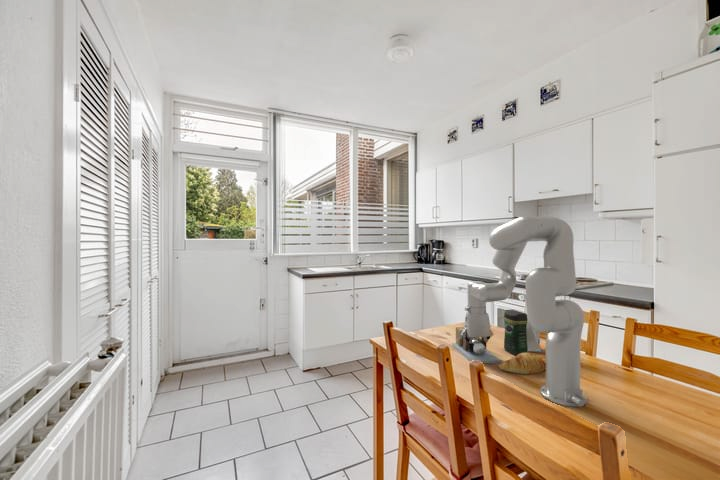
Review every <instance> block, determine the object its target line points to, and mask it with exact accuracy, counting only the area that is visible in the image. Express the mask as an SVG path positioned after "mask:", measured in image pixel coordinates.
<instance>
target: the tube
mask: <svg viewBox="0 0 720 480" xmlns="http://www.w3.org/2000/svg"><path fill="white" fill-rule="evenodd" d="M465 336H466V337H468V335H467V334H465ZM462 342H463V337H462ZM472 343H473V351H474V352H475V353H476V354H478V355H482V354H484V353H485V351H486V350H487V347H486V348H485V346H484V345H483V344H482V343H480V342H479V341H478V340H476V339H475V338H473V340H472Z"/></svg>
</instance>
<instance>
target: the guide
mask: <svg viewBox="0 0 720 480" xmlns="http://www.w3.org/2000/svg"><path fill="white" fill-rule="evenodd" d="M477 340H478V341H479V342H480V343H481V341H482V338H481V337H477ZM463 349H464V350H465V351H468V342H467V341H466V340H465V339H464V338H463Z"/></svg>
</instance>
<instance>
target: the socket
mask: <svg viewBox="0 0 720 480" xmlns="http://www.w3.org/2000/svg"><path fill="white" fill-rule="evenodd" d="M464 327H465V326H459V327H458V326H457V327H455V343H456V344H457V345H458V346H462V344H463V342H462V336H461V335H460V334H461V333H462V331H463V330H464ZM473 338H475V339H476V340H477V337H473Z"/></svg>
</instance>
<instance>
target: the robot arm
mask: <svg viewBox="0 0 720 480" xmlns="http://www.w3.org/2000/svg"><path fill="white" fill-rule="evenodd" d="M488 242H489V245H490V246H491V248H492V249H493V250H495V253H494V256H493V257H492V264H493V265H494V266H495V268H497V269H499V270H501V271H502V274H501V276H500V279H499V281H498V282H491V283H490V282H489V283H485V282H484V281H479V280H472V281H469V282H467V305H466V307H464V310H465V311H466V313H465V316H464V317H465V318H464V326H463V327H464V330H463V331H462V333H461V334H460V335H461V336H462V337H463V338H464V339H465V340H466V341H467V342H468V350H469V351H470V352H471V353H473V343H472V340H473V337H480V338H481V339H482V341H481V343H482V344H483V345H484V346H485V348H486V349H487V343H488V341H489V340H490V339H491V338H492V336H494V332H493V331H492V329H491V322H490V316H489V312H487V303H493V302H499V301H505V300H507V299H508V298H509V297H510V296H511V294H512V292H513V291H514V289H515V286H517V285H516V284H517V273H516V270H515V268H516V266H517V264H518V262H519V259H520V258H521V256H522V254H523V252H524V250H525V248H526V246H527V244H528V242H546V245H545V247H544V249H543V267H537V268H534V269H532V270H531V271H530V272H529V273H528V275H527V276H526V280H525V292H526V293H525V294H526V299H527V313H528V319H529V322H530V324H531V326H532V327H533V328H534V329H535V330H536V331H538V332H540V334H546V338H545V360H546V370H545V384H544V385H542V386H541V387H540V388H539V389H540V391H539V392H540V394H541V396H542V395H543V396H542V397H543V398H545V399H546V398H547V399H546V400H548V399H549V400H548V401H550V400H552V401H553V402H552V401H551V402H552V403H555V404H557V405H561V404H562V405H561V406H566V407H573V408H574V407H576V408H577V407H583V406H584V405H586V403H588V401H589V400H588V398H587V396H586V395H585V394H583V389H582V388H581V344H582V343H581V342H582V332H583V328H584V325H585V323H584V322H585V314H584V311H583V309H582V307H581V306H580V305H579V304H578V303H576V302H575V301H573V300H570V299H556V297H563V296H569V295H571V294H573V293H574V292H575V290H576V288H577V277H576V276H577V274H576V265H575V256H574V255H575V254H574V233H573V230H572V228H571V226H570V225H569V223H568V222H566V221H565V220H563V219H561V218H559V217H554V216H546V215H544V216H543V215H541V216H536V215H535V216H532V215H531V216H530V215H529V216H528V215H527V216H520V217H517V218H515V219H513V220H510V221H508V222H506V223H503V224H502V225H499V226H497V227H496V228H495V229H493V230H492V232H491V233H490V235H489V238H488ZM465 334H467V335H468V337H466V336H465ZM485 352H486V351H485Z"/></svg>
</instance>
